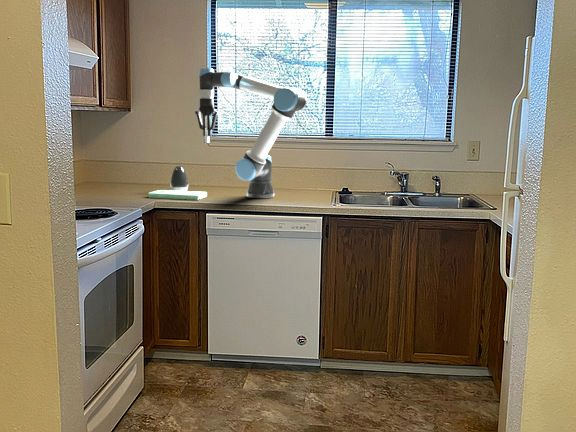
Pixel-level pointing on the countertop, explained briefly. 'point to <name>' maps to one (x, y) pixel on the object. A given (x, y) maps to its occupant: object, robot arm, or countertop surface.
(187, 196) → the green
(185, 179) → the dark grey egg shape
